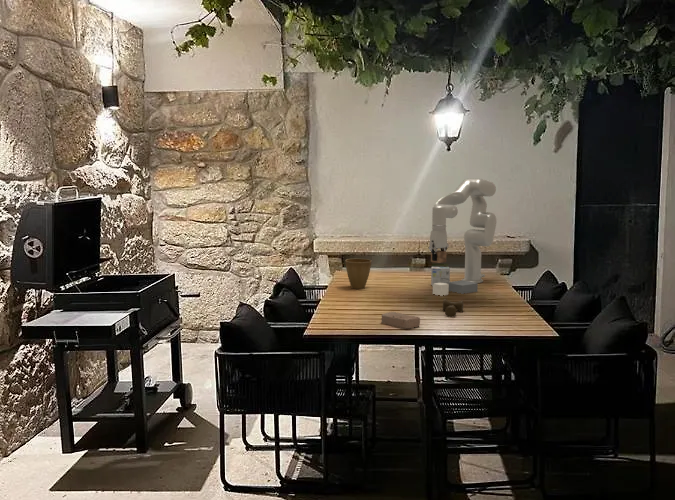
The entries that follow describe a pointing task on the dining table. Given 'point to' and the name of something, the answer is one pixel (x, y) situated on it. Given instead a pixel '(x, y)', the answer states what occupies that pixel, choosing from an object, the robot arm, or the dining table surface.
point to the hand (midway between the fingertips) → (438, 259)
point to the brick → (400, 320)
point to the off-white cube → (440, 289)
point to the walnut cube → (440, 256)
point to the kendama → (452, 307)
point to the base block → (462, 286)
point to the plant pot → (358, 272)
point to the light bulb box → (440, 275)
